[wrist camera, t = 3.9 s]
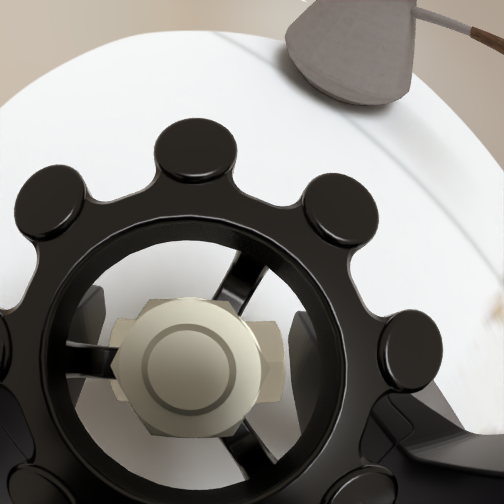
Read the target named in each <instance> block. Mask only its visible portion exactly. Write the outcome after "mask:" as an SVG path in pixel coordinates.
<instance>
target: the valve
mask: <svg viewBox="0 0 504 504" xmlns="http://www.w3.org/2000/svg"><path fill="white" fill-rule="evenodd" d="M236 158H237V144H236V141H235V139H234V137H233V135H232V134H231V133H230V131H229V130H228V129H226V128H225V127H224V126H223V125H221V124H219V123H217V122H215V121H212V120H209V119H204V118H189V119H184V120H180V121H178V122H175V123H173V124H171V125H170V126H168V127H167V128H166V129H165V130H164V131H163V132H162V133H161V134H160V135H159V137H158V138H157V140H156V143H155V146H154V160H155V166H156V174H155V177H154V179H153V180H152V182H151V183H150V184H149V185H148V186H147V187H146V188H144V189H142V190H140V191H138V192H135V193H132V194H129V195H127V196H124V197H121V198H118V199H116V200H113V201H107V202H102V201H98V200H96V199H94V198H93V197H92V195H91V193H90V191H89V189H88V187H87V186H86V184H85V182H84V180H83V178H82V176H81V175H80V174H79V172H78V171H76V170H75V169H73V168H72V167H70V166H66V165H51V166H48V167H45V168H43V169H41V170H39V171H38V172H36V173H35V174H33V175H32V176H31V177H30V178H29V179H28V180H27V181H26V182H25V184H24V185H23V187H22V188H21V190H20V192H19V194H18V196H17V199H16V202H15V207H14V218H15V223H16V226H17V228H18V230H19V231H20V233H21V234H22V235H23V236H24V237H25V238H26V239H27V240H29V241H30V242H31V243H32V244H33V245H34V247H35V249H36V253H37V264H36V268H35V271H34V273H33V276H32V278H31V280H30V282H29V284H28V286H27V288H26V291H25V293H24V295H23V297H22V299H21V301H20V302H19V303H18V304H17V305H16V306H15V307H14V308H12V309H9V310H6V309H4V308H1V307H0V389H4V390H6V391H8V392H9V393H10V394H11V395H12V396H13V397H14V398H15V400H16V401H17V403H18V405H19V406H20V409H21V411H22V414H23V417H24V419H25V422H26V424H27V427H28V429H29V431H30V434H31V436H32V440H33V445H34V450H33V455H32V457H31V458H29V459H27V460H25V461H23V462H21V463H19V464H17V465H15V466H13V467H12V468H11V470H10V471H9V473H8V475H7V480H6V481H7V490H8V494H9V497H10V499H11V501H12V503H13V504H395V502H396V499H397V495H398V483H397V479H396V477H395V475H394V474H393V473H392V471H390V470H389V469H388V468H386V467H384V466H382V465H379V464H377V463H375V462H372V461H370V460H368V459H365V458H364V456H363V454H362V451H361V442H362V438H363V435H364V432H365V429H366V427H367V424H368V421H369V418H370V415H371V412H372V410H373V408H374V406H375V405H376V403H377V402H378V401H379V400H380V399H381V398H382V397H384V396H385V395H387V394H390V393H398V394H412V393H416V392H419V391H421V390H423V389H424V388H426V387H427V386H428V385H429V384H430V383H431V382H432V381H433V379H434V378H435V377H436V375H437V373H438V371H439V368H440V366H441V362H442V357H443V343H442V337H441V334H440V331H439V329H438V327H437V325H436V324H435V322H434V321H433V320H432V319H431V318H430V317H429V316H428V315H427V314H425V313H424V312H421V311H418V310H413V309H407V310H403V311H400V312H397V313H394V314H390V315H387V316H384V317H379V316H376V315H375V314H373V313H372V312H370V311H369V310H368V308H367V307H366V306H365V304H364V302H363V300H362V298H361V296H360V293H359V291H358V289H357V287H356V285H355V283H354V281H353V279H352V277H351V273H350V262H351V258H352V256H353V254H355V253H356V252H357V251H358V250H360V249H361V248H362V247H364V246H365V245H366V244H368V243H369V242H370V241H371V240H372V239H373V237H374V236H375V234H376V231H377V229H378V224H379V214H378V209H377V206H376V203H375V201H374V199H373V197H372V195H371V194H370V193H369V192H368V190H367V189H366V188H365V187H364V186H363V185H362V184H361V183H359V182H358V181H356V180H355V179H353V178H351V177H349V176H346V175H343V174H339V173H326V174H322V175H320V176H317V177H316V178H314V179H313V180H312V181H311V182H310V183H309V184H308V185H307V187H306V188H305V190H304V191H303V193H302V195H301V196H300V198H299V200H298V201H297V202H296V203H295V204H293V205H290V206H275V205H272V204H270V203H267V202H265V201H262V200H260V199H258V198H255V197H253V196H250V195H248V194H246V193H244V192H243V191H241V190H240V189H239V188H238V187H237V186H236V184H235V183H234V181H233V177H232V176H233V173H234V168H235V163H236ZM182 240H191V241H205V242H212V243H216V244H219V245H222V246H226V247H229V248H232V249H235V250H237V251H236V254H235V257H234V259H233V261H232V264H231V266H230V268H229V269H228V271H227V273H226V275H225V277H224V279H223V281H222V282H221V284H220V286H219V288H218V289H217V291H216V293H215V294H214V296H213V298H212V300H207V299H203V298H195V297H183V298H176V299H153V300H149V301H148V303H147V304H146V305H145V307H144V308H143V310H142V311H141V313H140V314H139V316H138V317H137V319H136V320H132V319H117V321H116V323H115V325H114V327H113V330H112V333H111V337H110V343H109V346H100V345H91V344H84V343H77V342H72V341H68V340H67V338H68V334H69V330H70V326H71V322H72V318H73V316H74V314H75V311H76V309H77V307H78V305H79V303H80V301H81V300H82V298H83V297H84V295H85V293H86V292H87V290H88V289H89V288H90V287H91V285H92V284H93V283H94V282H95V281H96V280H97V279H98V278H99V277H100V276H101V275H102V274H103V273H104V272H105V271H106V270H107V269H109V268H110V267H111V266H113V265H114V264H116V263H117V262H119V261H120V260H122V259H123V258H125V257H126V256H128V255H129V254H132V253H134V252H137V251H140V250H142V249H145V248H147V247H150V246H153V245H155V244H160V243H165V242H170V241H182ZM269 268H270V269H271V270H272V271H273V272H274V273H275V274H276V275H277V276H279V277H280V278H281V279H282V280H283V281H284V282H285V283H287V284H288V286H289V287H290V288H291V289H292V291H293V292H294V293H295V294H296V295H297V297H298V298H299V300H300V302H301V303H302V305H303V306H304V308H305V310H306V312H307V314H308V316H309V318H310V320H311V322H312V325H313V328H314V331H315V333H316V337H317V343H318V349H319V354H320V360H321V372H320V387H319V394H318V398H317V402H316V406H315V409H314V411H313V414H312V417H311V419H310V421H309V423H308V425H307V427H306V429H305V431H304V432H303V434H302V435H301V437H300V438H299V440H298V441H297V442H296V444H295V445H294V446H293V447H292V448H291V449H290V450H289V451H288V452H287V453H286V454H285V455H284V456H283V457H282V458H281V459H280V460H279V461H278V460H277V459H276V458H275V457H274V456H273V455H272V454H271V452H270V451H269V450H268V449H267V447H266V446H265V445H264V443H263V442H262V441H261V439H260V438H259V437H258V435H257V434H256V433H255V431H254V430H253V428H252V427H251V426H250V424H249V423H248V421H247V420H246V418H245V416H246V414H247V413H248V412H249V411H250V409H251V408H252V406H253V405H254V403H268V402H279V400H280V397H281V395H282V393H283V389H284V383H285V351H284V344H283V339H282V335H281V332H280V330H279V328H278V326H277V324H276V322H275V321H263V322H244V321H243V320H242V319H241V318H240V316H241V315H242V313H243V311H244V309H245V307H246V306H247V304H248V302H249V300H250V298H251V297H252V295H253V293H254V292H255V290H256V288H257V286H258V285H259V283H260V281H261V280H262V278H263V277H264V275H265V274H266V272H267V271H268V270H269ZM77 377H79V378H98V379H110V382H111V386H112V390H113V392H114V394H115V396H116V398H117V400H118V401H126V402H129V403H130V405H131V406H132V408H133V409H134V411H135V412H136V414H137V415H138V417H139V418H140V420H141V421H142V423H143V424H144V426H145V427H146V428H147V430H148V431H149V432H150V434H151V435H156V436H165V437H178V438H214V437H218V438H219V439H220V441H221V442H222V443H223V445H224V446H225V448H226V449H227V450H228V452H229V453H230V455H231V456H232V458H233V459H234V461H235V462H236V464H237V466H238V467H239V469H240V471H241V473H242V475H243V477H244V479H245V481H243V482H239V483H236V484H233V485H230V486H226V487H223V488H217V489H209V490H186V489H178V488H172V487H168V486H163V485H159V484H157V483H154V482H152V481H150V480H147V479H145V478H143V477H140V476H138V475H136V474H134V473H132V472H130V471H128V470H127V469H126V468H124V467H123V466H121V465H120V464H119V463H117V462H116V461H115V460H113V459H112V458H111V457H109V456H108V455H107V454H106V453H105V452H104V451H103V450H102V449H101V448H100V447H99V446H98V445H97V444H96V443H95V442H94V440H93V439H92V438H91V436H90V435H89V434H88V432H87V431H86V429H85V428H84V426H83V424H82V422H81V421H80V419H79V417H78V415H77V413H76V410H75V408H74V406H73V403H72V400H71V396H70V392H69V387H68V383H67V378H77Z"/></svg>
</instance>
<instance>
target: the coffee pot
mask: <svg viewBox="0 0 504 504" xmlns="http://www.w3.org/2000/svg"><path fill="white" fill-rule="evenodd" d="M416 1H417V0H316V1H315V2H314V3H313V4H312V5H311V6H310V7H309V8H308V9H307V10H305V12H303V13H302V14H301V15H300V16H299V17H298V18H297V19H296V20H295V21H294V22H293V23H292V24H291V25H290V27H289V28H288V30H287V32H286V35H285V41H286V45H287V49H288V53H289V56H290V57H291V59H292V60H293V62H294V63H295V65H296V66H297V68H298V69H299V71H301V73H302V74H303V76H304V77H305V79H306V80H307V81H308V82H309V83H310V84H311V85H312V86H314V87H315V88H317V89H318V90H320V91H321V92H322V93H324V94H326V95H328V96H330V97H332V98H334V99H337V100H340V101H342V102H345V103H350V104H354V105H368V104H370V105H381V104H387V103H391V102H394V101H396V100H399V99H401V98H402V97H403V96H404V95H405V94H406V93H408V92H409V89H410V84H411V78H412V67H413V57H414V45H415V30H416V18H417V19H421V20H424V21H428V22H431V23H434V24H438V25H440V26H443V27H446V28H449V29H452V30H455V31H458V32H460V33H463V34H466V35H469V36H471V38H473V39H475V40H477V41H479V42H481V43H483V44H485V45H487V46H489V47H491V48H493V49H495V50H497V51H498V52H500V53H502V54H504V39H502V38H500V37H498V36H496V35H493V34H491V33H488V32H486V31H483V30H480V29H478V28H475V27H470V26H468V25H465V24H463V23H461V22H458V21H456V20H453V19H450V18H448V17H445V16H442V15H439V14H437V13H434V12H431V11H428V10H425V9H422V8H418V7H416Z"/></svg>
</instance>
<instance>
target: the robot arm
mask: <svg viewBox="0 0 504 504" xmlns="http://www.w3.org/2000/svg"><path fill="white" fill-rule="evenodd" d="M105 315H106V309H105V299H104V291H103V288H102V287H101V286H96V285H91V287H90V288H89V289H88V290H87V292H86V293H85V295H84V297H83V298H82V300H81V301H80V303H79V305H78V307H77V309H76V311H75V314H74V316H73V318H72V322H71V326H70V330H69V334H68V338H67V340H68V341H72V342H77V343H84V344H91V345H97V343H98V340H99V336H100V333H101V330H102V326H103V323H104V320H105ZM288 344H289V357H290V371H291V383H292V390H293V395H294V400H295V405H296V410H297V415H298V420H299V425H300V430H301V435H302V434H303V432H304V431H305V429H306V427H307V425H308V423H309V421H310V419H311V417H312V414H313V411H314V409H315V406H316V402H317V398H318V394H319V387H320V372H321V360H320V354H319V349H318V343H317V337H316V333H315V331H314V328H313V325H312V322H311V320H310V318H309V316H308V314H307V312H305V311H297V312H296V313H295V315H294V319H293V322H292V325H291V329H290V332H289V337H288ZM85 379H86V378H79V377H77V378H67V383H68V387H69V392H70V396H71V400H72V403H73V406H74V408H75V406H76V403H77V400H78V397H79V395H80V392H81V389H82V387H83V384H84V382H85ZM33 450H34V445H33V440H32V436H31V434H30V431H29V429H28V427H27V424H26V422H25V419H24V417H23V414H22V411H21V409H20V406H19V405H18V403H17V401H16V400H15V398H14V397H13V396H12V395H11V394H10V393H9V392H8V391H6V390H4V389H0V504H13V503H12V501H11V499H10V497H9V494H8V490H7V481H6V480H7V475H8V473H9V471H10V470H11V468H12V467H13V466H15V465H17V464H19V463H21V462H23V461H25V460H27V459H29V458H31V457H32V455H33ZM361 451H362V454H363V456H364V458H365V459H368V460H370V461H372V462H375V463H377V464H379V465H382V466H384V467H386V468H388V469H389V470H390V471H392V473H393V474H394V475H395V477H396V479H397V483H398V495H397V499H396V502H395V504H504V434H498V435H481V434H475V433H471V432H469V431H466V430H464V429H462V428H461V427H459V426H457V425H456V424H454V423H453V422H451V421H450V420H448V419H447V418H445V417H444V416H442V415H441V414H439V413H438V412H436V411H435V410H433V409H432V408H430V407H429V406H427V405H426V404H425V403H423V402H422V401H420V400H419V399H417V398H416V397H415V396H413V395H412V394H398V393H390V394H387V395H385V396H384V397H382V398H381V399H380V400H379V401H378V402H377V403H376V405H375V406H374V408H373V410H372V412H371V415H370V418H369V421H368V424H367V427H366V429H365V432H364V435H363V438H362V442H361Z"/></svg>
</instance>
